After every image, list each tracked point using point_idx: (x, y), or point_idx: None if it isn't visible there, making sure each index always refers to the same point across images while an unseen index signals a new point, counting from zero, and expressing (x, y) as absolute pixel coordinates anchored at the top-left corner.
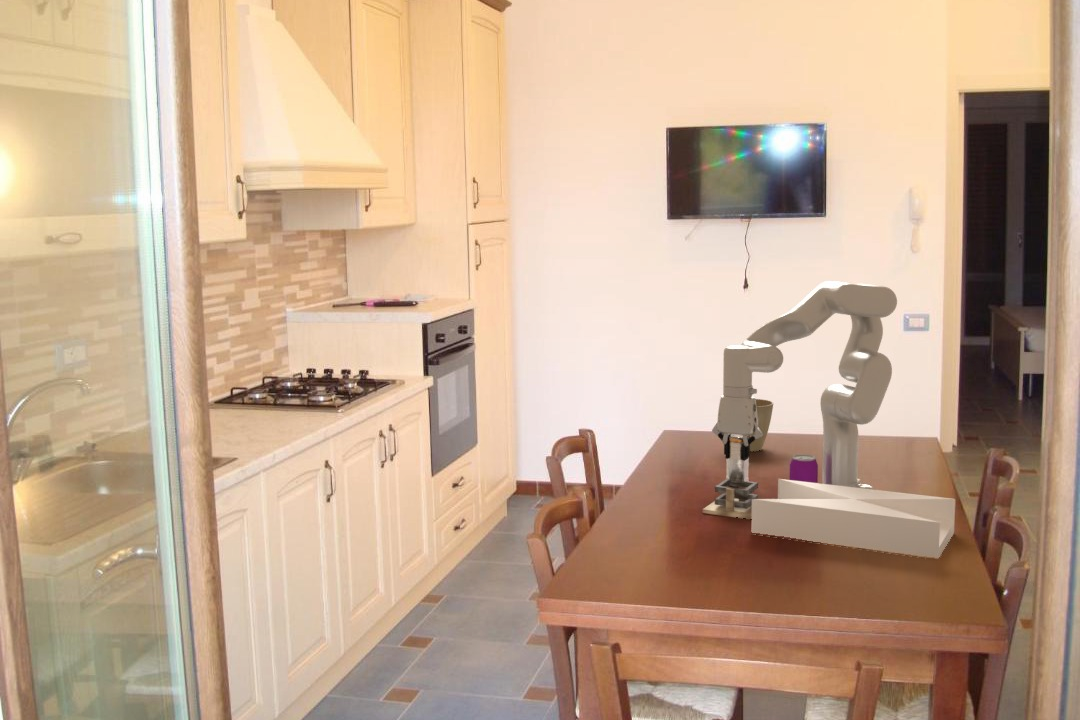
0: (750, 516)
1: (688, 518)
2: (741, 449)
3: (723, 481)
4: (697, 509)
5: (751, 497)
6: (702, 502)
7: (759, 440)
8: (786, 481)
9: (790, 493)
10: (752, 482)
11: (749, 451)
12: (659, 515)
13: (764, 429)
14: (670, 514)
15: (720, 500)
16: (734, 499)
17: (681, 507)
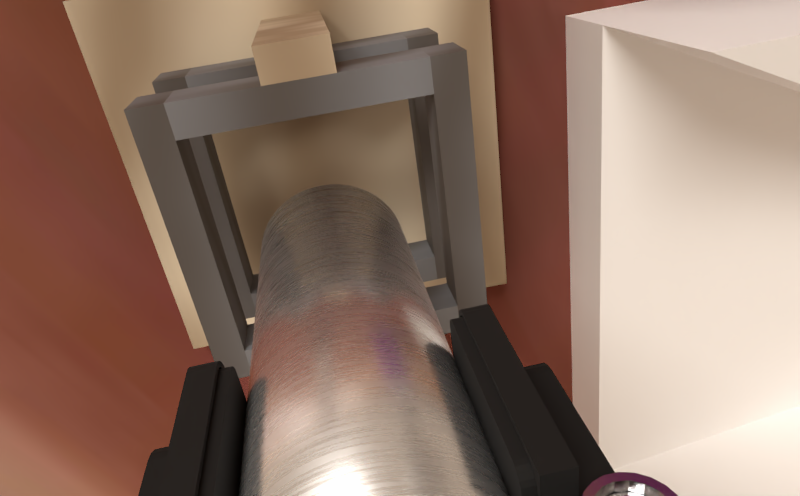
0: (492, 282)
1: None
2: None
3: (173, 221)
4: (121, 300)
5: (425, 132)
6: (18, 151)
7: None
8: (796, 82)
9: (761, 77)
10: (418, 84)
11: (571, 412)
12: (47, 493)
13: None
14: (77, 451)
15: None
16: (212, 24)
17: (10, 326)
